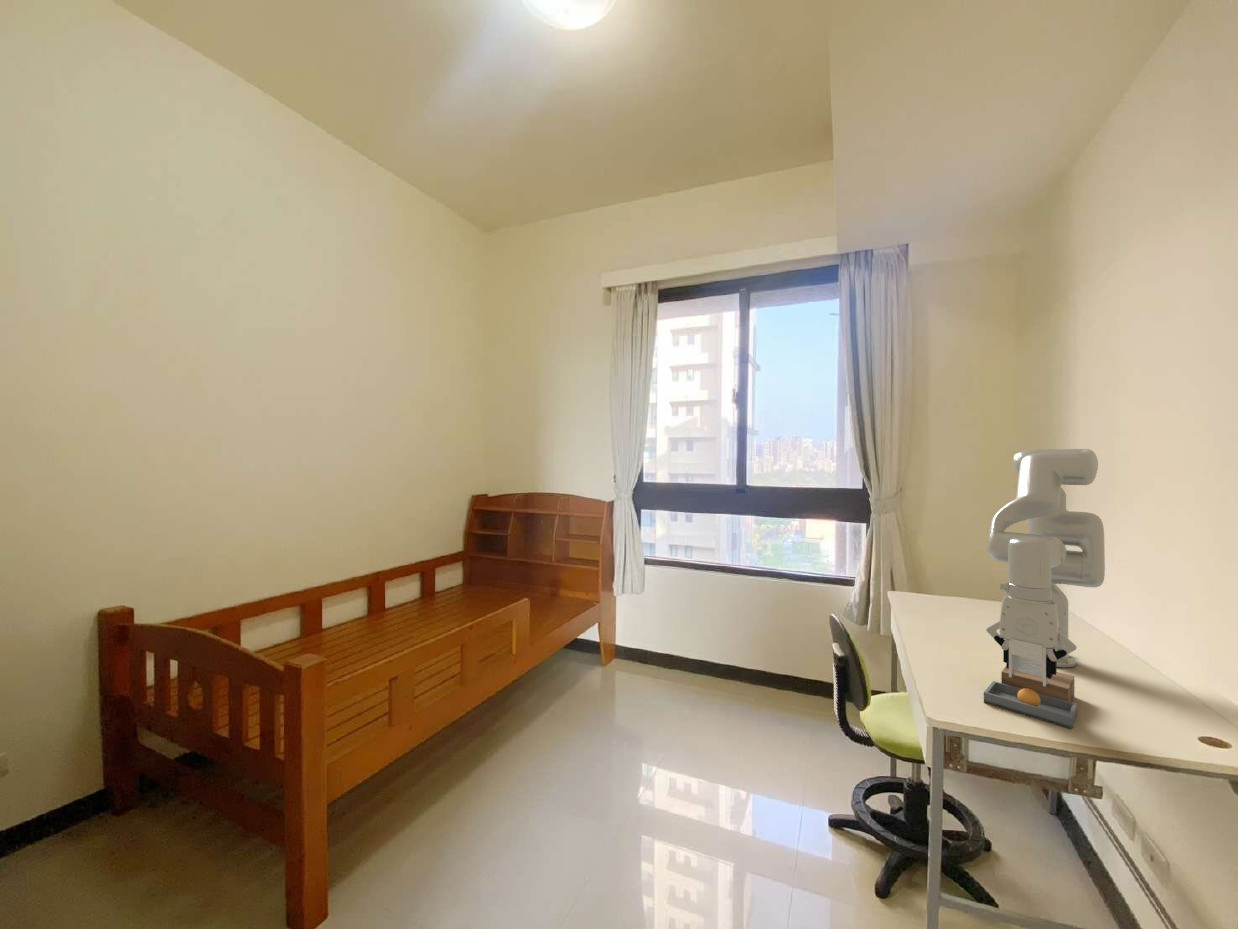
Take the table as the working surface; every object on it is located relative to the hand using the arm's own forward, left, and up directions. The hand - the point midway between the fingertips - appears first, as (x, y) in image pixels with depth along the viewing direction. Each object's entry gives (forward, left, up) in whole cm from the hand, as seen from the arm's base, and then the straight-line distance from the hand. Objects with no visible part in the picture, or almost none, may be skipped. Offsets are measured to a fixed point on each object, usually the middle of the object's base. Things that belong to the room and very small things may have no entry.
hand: (1029, 670), depth 110 cm
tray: (0, 0, -9) cm, 9 cm away
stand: (-10, 0, -9) cm, 13 cm away
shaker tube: (0, 0, -2) cm, 2 cm away
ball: (+1, 0, -6) cm, 6 cm away
